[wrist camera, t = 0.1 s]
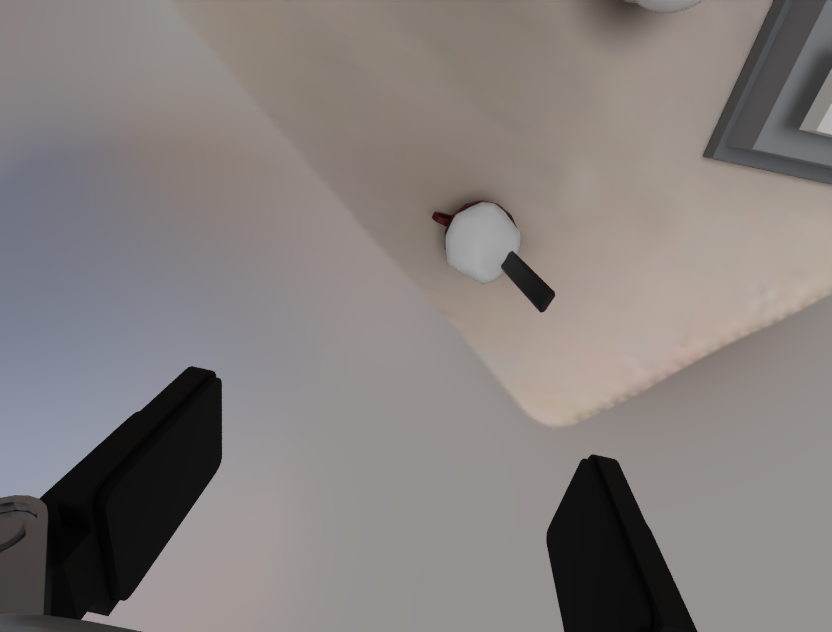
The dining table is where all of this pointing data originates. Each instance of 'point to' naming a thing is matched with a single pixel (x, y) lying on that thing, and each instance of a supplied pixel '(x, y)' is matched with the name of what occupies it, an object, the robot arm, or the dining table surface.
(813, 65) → the switch unit
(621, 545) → the robot arm
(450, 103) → the dining table surface
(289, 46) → the dining table surface
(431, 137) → the dining table surface
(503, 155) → the dining table surface
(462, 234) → the cocoa
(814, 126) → the switch
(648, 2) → the lightbulb
